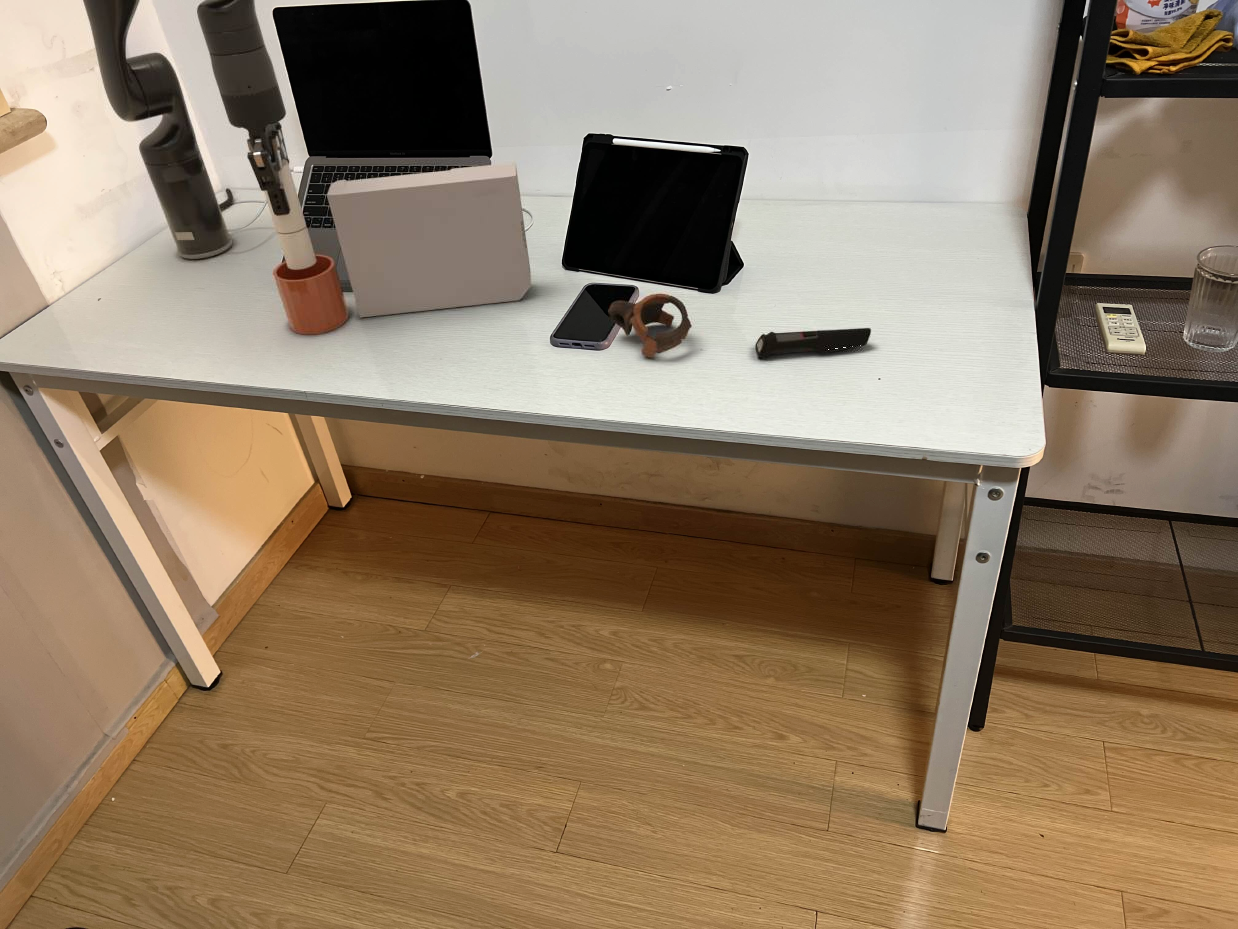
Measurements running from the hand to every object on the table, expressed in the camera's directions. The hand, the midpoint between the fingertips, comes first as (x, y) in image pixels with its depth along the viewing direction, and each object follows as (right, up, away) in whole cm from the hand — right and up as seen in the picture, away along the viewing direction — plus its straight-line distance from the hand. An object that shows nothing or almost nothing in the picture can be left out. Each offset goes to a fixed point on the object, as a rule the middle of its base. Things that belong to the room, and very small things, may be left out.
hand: (285, 206), depth 133 cm
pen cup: (+1, -15, +11) cm, 18 cm away
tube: (+1, -7, +6) cm, 9 cm away
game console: (+21, -11, +14) cm, 27 cm away
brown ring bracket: (+53, -20, 0) cm, 56 cm away
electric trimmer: (+75, -21, -5) cm, 78 cm away
